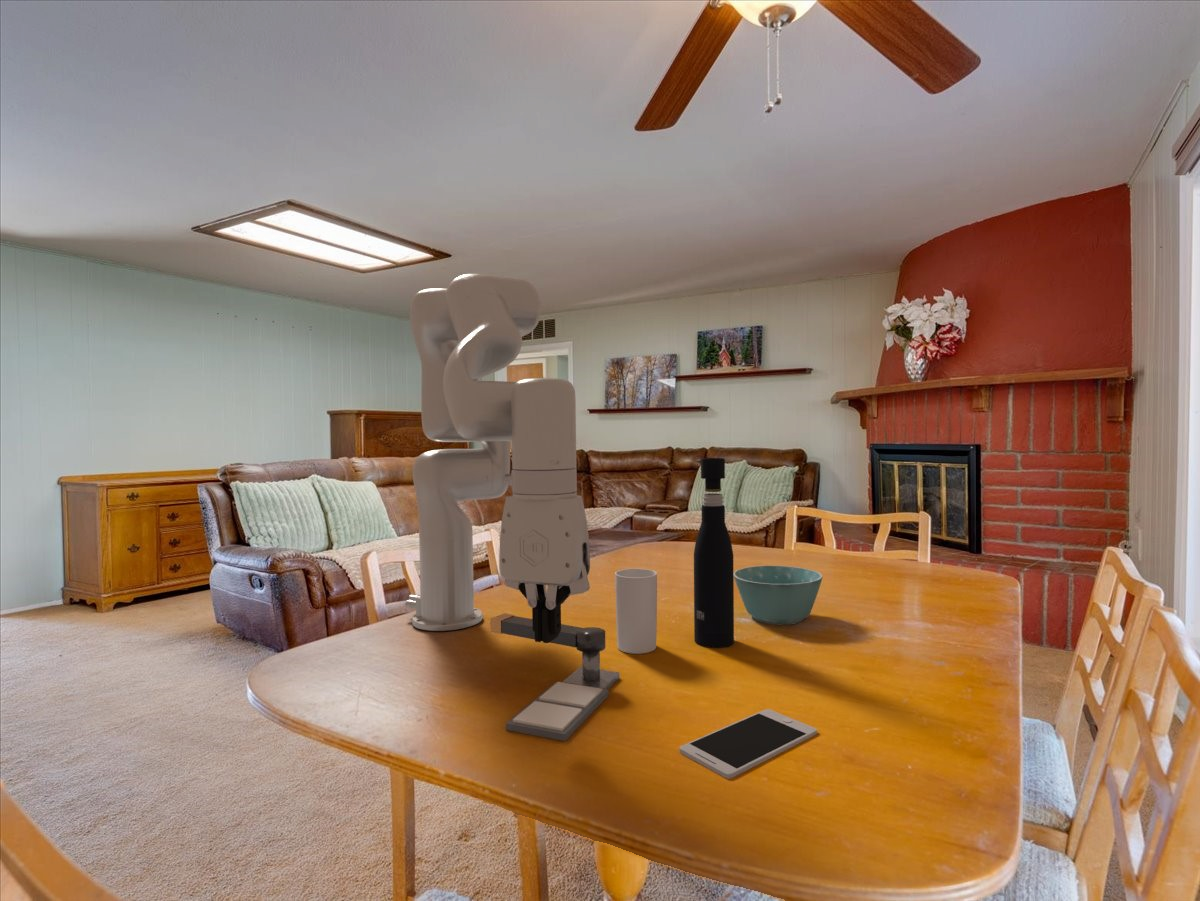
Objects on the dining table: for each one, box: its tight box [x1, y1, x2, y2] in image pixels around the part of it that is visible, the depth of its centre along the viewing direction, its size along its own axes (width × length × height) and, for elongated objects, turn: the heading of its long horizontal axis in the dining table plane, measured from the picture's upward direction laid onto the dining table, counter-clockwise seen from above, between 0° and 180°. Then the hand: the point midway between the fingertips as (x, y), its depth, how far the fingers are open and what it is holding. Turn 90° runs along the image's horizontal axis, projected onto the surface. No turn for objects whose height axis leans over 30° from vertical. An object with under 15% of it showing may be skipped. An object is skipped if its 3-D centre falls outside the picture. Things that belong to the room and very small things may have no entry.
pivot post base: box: [562, 651, 620, 691], centre depth 88 cm, size 6×6×4 cm
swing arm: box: [489, 613, 606, 653], centre depth 91 cm, size 18×4×2 cm, turn 59°
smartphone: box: [678, 708, 818, 780], centre depth 71 cm, size 7×16×1 cm, turn 128°
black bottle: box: [693, 457, 735, 649], centre depth 104 cm, size 6×6×30 cm
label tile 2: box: [532, 681, 609, 718], centre depth 82 cm, size 8×7×1 cm
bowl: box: [733, 565, 823, 626], centre depth 117 cm, size 16×16×8 cm
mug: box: [614, 567, 658, 655], centre depth 103 cm, size 10×7×12 cm, turn 21°
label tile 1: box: [505, 700, 590, 742], centre depth 76 cm, size 8×7×1 cm
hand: (547, 638), depth 75 cm, fingers closed
